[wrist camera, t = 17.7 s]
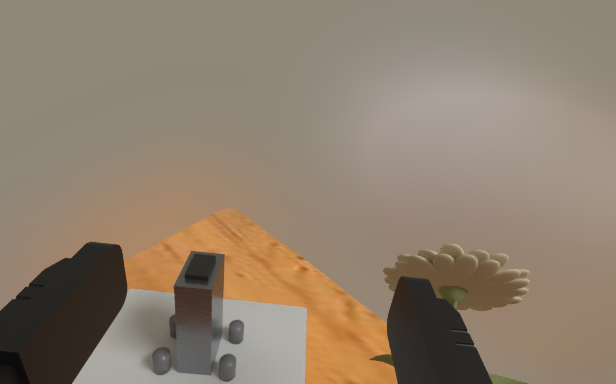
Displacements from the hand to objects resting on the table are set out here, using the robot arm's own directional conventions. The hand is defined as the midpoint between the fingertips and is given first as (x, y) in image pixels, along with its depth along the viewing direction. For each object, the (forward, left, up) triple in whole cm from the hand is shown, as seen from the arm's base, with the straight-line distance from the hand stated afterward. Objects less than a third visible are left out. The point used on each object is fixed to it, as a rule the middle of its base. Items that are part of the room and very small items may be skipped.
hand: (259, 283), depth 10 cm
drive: (+7, -18, -26) cm, 32 cm away
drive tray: (+7, -18, -27) cm, 33 cm away
